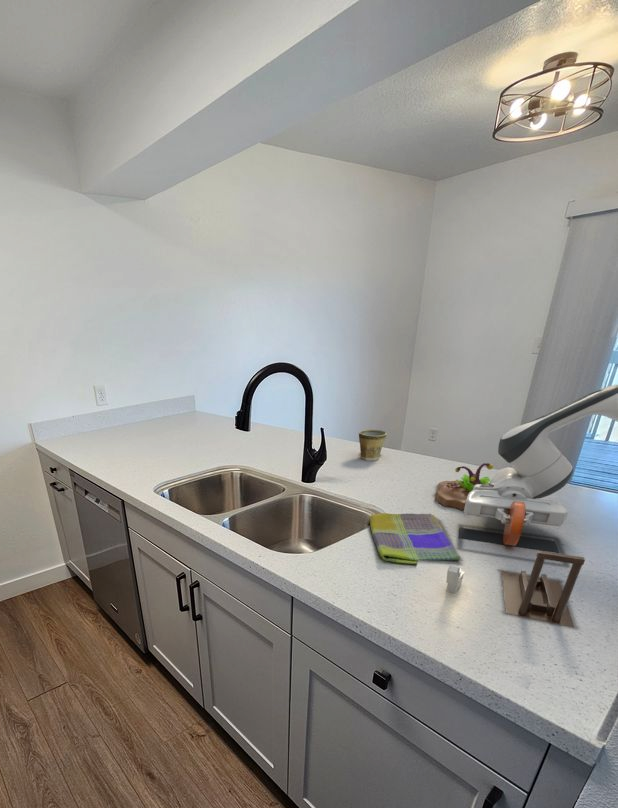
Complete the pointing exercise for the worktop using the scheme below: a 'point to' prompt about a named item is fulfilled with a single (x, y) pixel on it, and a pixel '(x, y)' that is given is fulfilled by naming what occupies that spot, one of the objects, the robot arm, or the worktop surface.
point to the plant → (460, 488)
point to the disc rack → (541, 591)
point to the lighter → (454, 579)
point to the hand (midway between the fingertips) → (515, 521)
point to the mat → (498, 539)
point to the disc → (514, 523)
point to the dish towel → (411, 538)
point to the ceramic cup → (371, 444)
